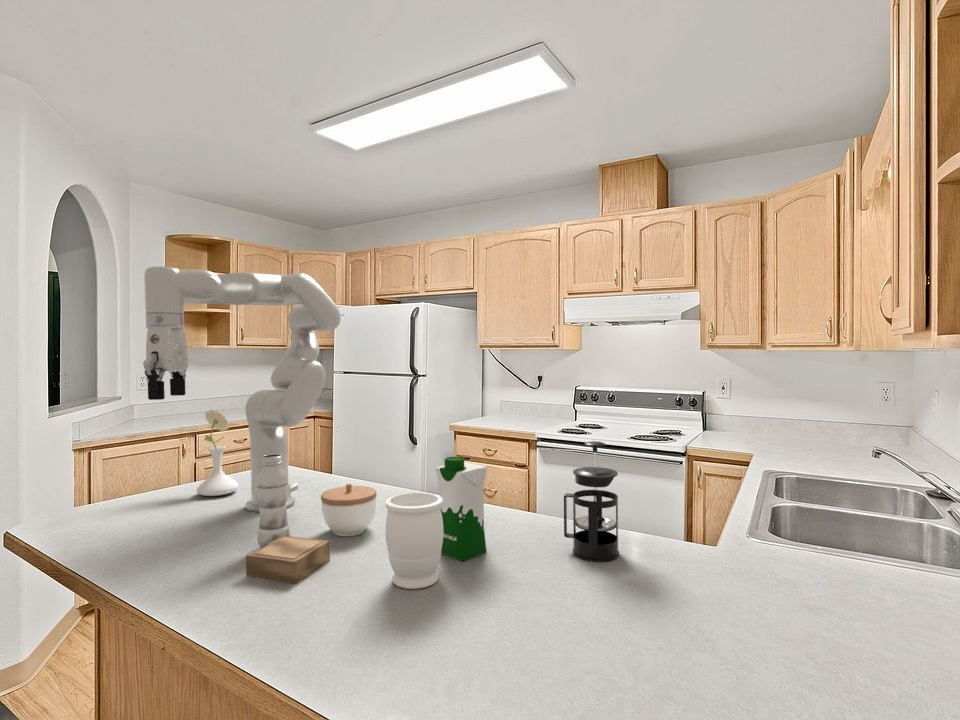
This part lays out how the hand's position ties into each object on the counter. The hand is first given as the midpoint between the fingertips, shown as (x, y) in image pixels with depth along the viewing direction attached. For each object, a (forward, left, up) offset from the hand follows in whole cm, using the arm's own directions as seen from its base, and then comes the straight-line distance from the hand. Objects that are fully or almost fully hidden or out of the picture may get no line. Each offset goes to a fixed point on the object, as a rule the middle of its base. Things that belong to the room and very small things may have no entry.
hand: (167, 397), depth 123 cm
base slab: (+7, +37, -32) cm, 50 cm away
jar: (+5, +63, -32) cm, 71 cm away
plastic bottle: (-1, +27, -32) cm, 42 cm away
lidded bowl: (-15, +37, -32) cm, 52 cm away
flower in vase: (-33, -19, -32) cm, 50 cm away
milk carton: (-10, +67, -32) cm, 76 cm away
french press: (-17, +93, -32) cm, 100 cm away
